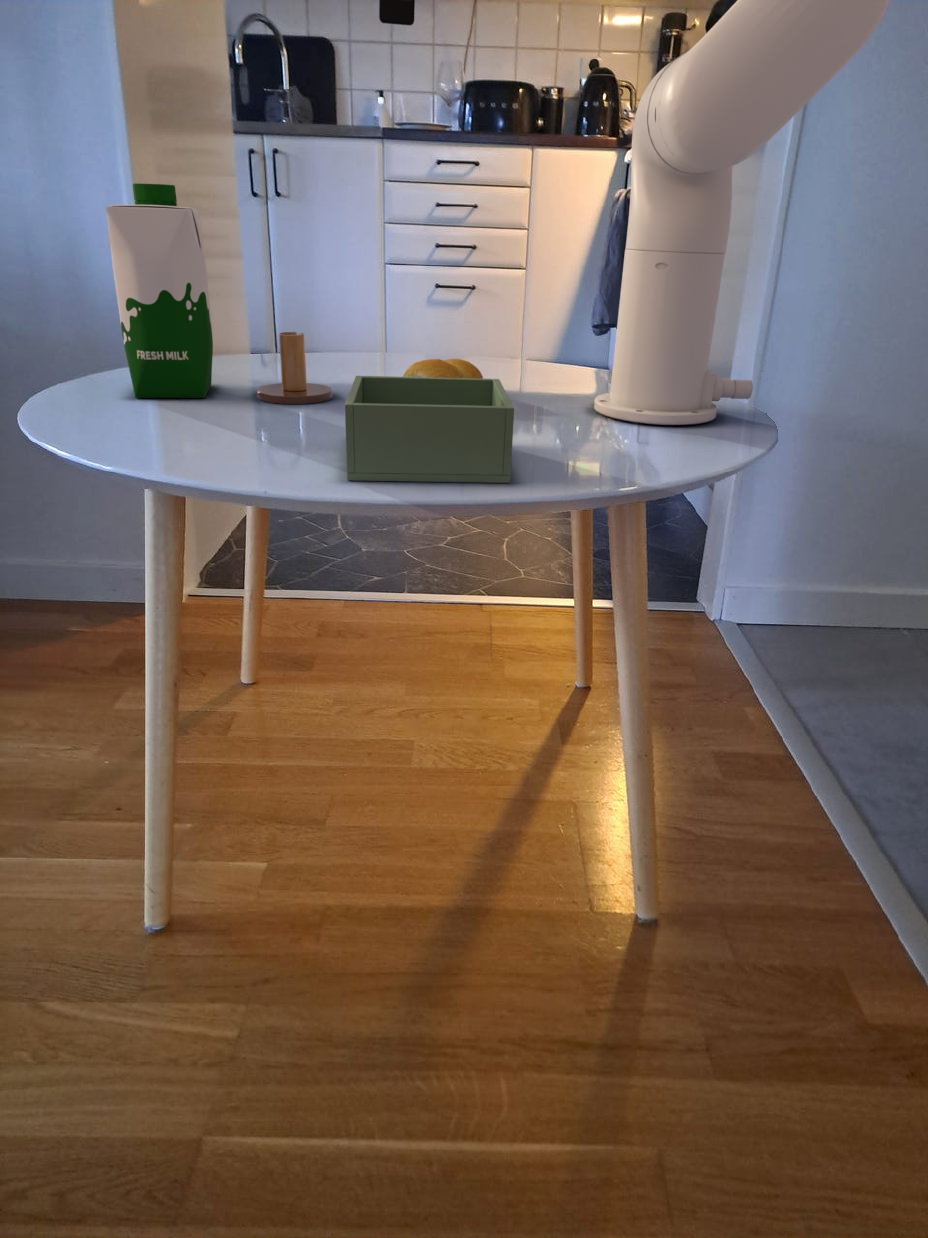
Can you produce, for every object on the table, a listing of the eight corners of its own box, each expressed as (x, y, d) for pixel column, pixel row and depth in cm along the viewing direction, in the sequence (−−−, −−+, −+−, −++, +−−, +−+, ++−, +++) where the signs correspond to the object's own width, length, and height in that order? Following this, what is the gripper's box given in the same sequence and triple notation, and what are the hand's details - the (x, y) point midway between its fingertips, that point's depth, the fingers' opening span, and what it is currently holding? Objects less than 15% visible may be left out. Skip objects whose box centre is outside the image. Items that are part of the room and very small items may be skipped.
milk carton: (220, 384, 95) (202, 186, 86) (212, 400, 87) (191, 183, 78) (139, 384, 93) (112, 183, 85) (123, 400, 85) (92, 179, 77)
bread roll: (496, 395, 94) (498, 358, 93) (440, 404, 88) (441, 365, 87) (444, 384, 99) (445, 349, 98) (388, 392, 94) (388, 355, 92)
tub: (496, 443, 74) (499, 378, 71) (510, 483, 63) (514, 407, 60) (357, 441, 73) (355, 375, 71) (346, 480, 62) (344, 404, 60)
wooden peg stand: (335, 390, 94) (333, 329, 91) (328, 404, 87) (326, 339, 84) (263, 389, 93) (259, 327, 91) (250, 403, 86) (245, 337, 83)
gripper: (454, -313, 58) (442, -9, 65) (444, -201, 73) (436, 34, 80) (344, -326, 57) (345, -18, 64) (358, -210, 73) (357, 28, 80)
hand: (395, 11), depth 72 cm, fingers open, 9 cm apart
